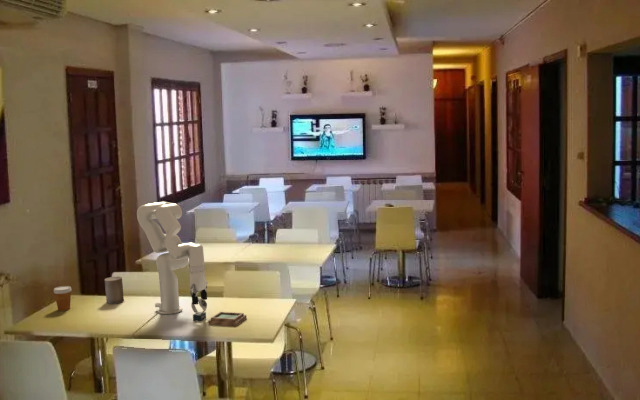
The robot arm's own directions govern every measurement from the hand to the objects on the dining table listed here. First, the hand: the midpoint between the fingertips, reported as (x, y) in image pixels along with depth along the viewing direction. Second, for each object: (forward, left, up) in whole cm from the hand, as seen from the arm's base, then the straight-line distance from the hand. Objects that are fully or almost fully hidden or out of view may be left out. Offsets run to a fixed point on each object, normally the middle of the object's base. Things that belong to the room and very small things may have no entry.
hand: (199, 301), depth 375 cm
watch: (-1, 0, -10) cm, 10 cm away
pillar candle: (-66, +23, -10) cm, 70 cm away
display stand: (+15, -1, -9) cm, 18 cm away
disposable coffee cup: (-86, +4, -10) cm, 86 cm away
